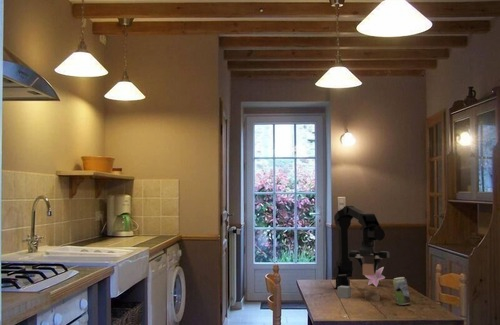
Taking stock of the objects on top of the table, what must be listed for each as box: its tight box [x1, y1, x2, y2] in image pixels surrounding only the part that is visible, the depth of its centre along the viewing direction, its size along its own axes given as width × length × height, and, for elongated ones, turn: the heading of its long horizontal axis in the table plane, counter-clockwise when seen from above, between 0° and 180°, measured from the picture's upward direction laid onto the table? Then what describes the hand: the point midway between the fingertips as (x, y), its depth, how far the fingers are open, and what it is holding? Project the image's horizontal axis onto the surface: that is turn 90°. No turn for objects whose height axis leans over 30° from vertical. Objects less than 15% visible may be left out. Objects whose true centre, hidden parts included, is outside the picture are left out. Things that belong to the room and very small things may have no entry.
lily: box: [364, 266, 386, 287], centre depth 305 cm, size 12×12×10 cm
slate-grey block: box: [337, 285, 352, 299], centre depth 269 cm, size 5×5×5 cm
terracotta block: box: [362, 263, 376, 276], centre depth 268 cm, size 5×5×5 cm
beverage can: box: [392, 276, 411, 306], centre depth 249 cm, size 6×7×12 cm
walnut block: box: [364, 289, 381, 302], centre depth 261 cm, size 6×6×4 cm
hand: (369, 272), depth 268 cm, fingers closed on terracotta block, 5 cm apart
